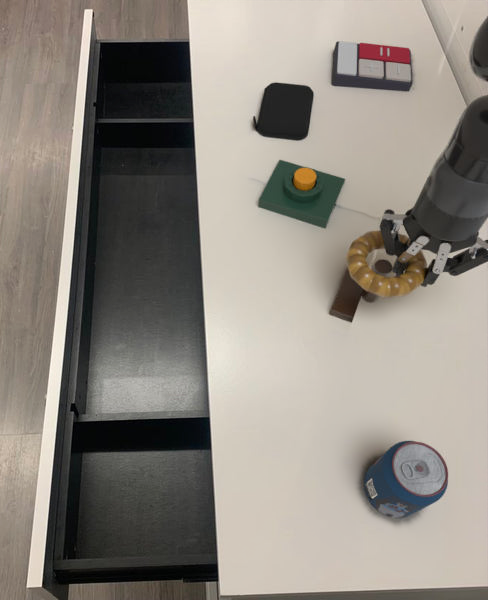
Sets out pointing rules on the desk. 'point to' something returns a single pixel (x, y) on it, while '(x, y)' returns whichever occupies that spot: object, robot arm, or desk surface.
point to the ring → (378, 282)
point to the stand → (356, 292)
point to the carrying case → (285, 111)
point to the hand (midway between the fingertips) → (411, 276)
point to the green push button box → (301, 195)
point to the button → (304, 179)
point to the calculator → (371, 66)
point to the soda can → (406, 479)
